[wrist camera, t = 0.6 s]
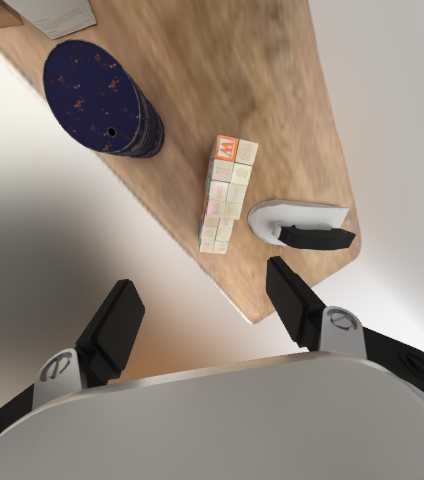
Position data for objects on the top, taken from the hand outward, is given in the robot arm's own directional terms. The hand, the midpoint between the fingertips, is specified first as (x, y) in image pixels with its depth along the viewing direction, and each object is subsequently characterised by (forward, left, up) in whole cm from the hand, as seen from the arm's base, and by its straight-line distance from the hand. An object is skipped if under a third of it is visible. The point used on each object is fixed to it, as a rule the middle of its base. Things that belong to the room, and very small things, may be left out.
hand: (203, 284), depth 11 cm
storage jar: (-12, -13, -30) cm, 35 cm away
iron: (+3, +25, -30) cm, 39 cm away
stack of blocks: (-1, +4, -30) cm, 30 cm away
